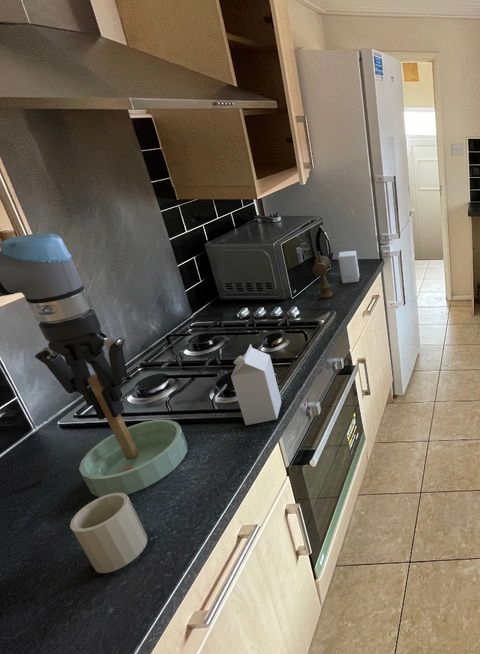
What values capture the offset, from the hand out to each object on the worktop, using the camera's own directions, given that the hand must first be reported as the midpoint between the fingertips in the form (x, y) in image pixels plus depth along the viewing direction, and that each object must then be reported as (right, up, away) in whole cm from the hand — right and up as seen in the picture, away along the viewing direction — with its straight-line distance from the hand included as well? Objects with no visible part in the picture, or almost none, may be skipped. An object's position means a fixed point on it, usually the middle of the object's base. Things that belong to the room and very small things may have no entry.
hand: (111, 413), depth 87 cm
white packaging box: (+11, +26, +102) cm, 106 cm away
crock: (+15, -21, -13) cm, 29 cm away
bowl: (+2, -13, +5) cm, 14 cm away
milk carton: (+20, -7, +21) cm, 30 cm away
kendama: (+7, +19, +86) cm, 88 cm away
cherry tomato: (+4, -13, 0) cm, 14 cm away
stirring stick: (0, -11, +5) cm, 12 cm away
